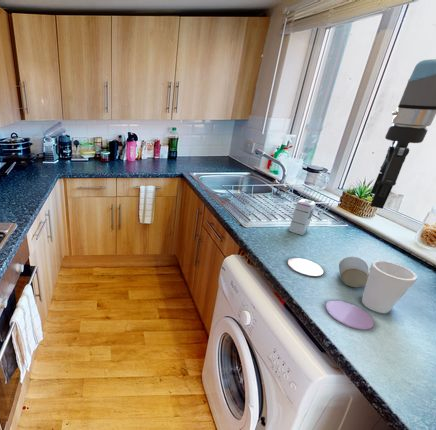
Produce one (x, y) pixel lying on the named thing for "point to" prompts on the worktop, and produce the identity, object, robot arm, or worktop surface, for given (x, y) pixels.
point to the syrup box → (302, 216)
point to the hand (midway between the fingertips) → (376, 200)
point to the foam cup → (386, 285)
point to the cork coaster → (305, 267)
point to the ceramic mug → (353, 271)
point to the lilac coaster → (349, 315)
